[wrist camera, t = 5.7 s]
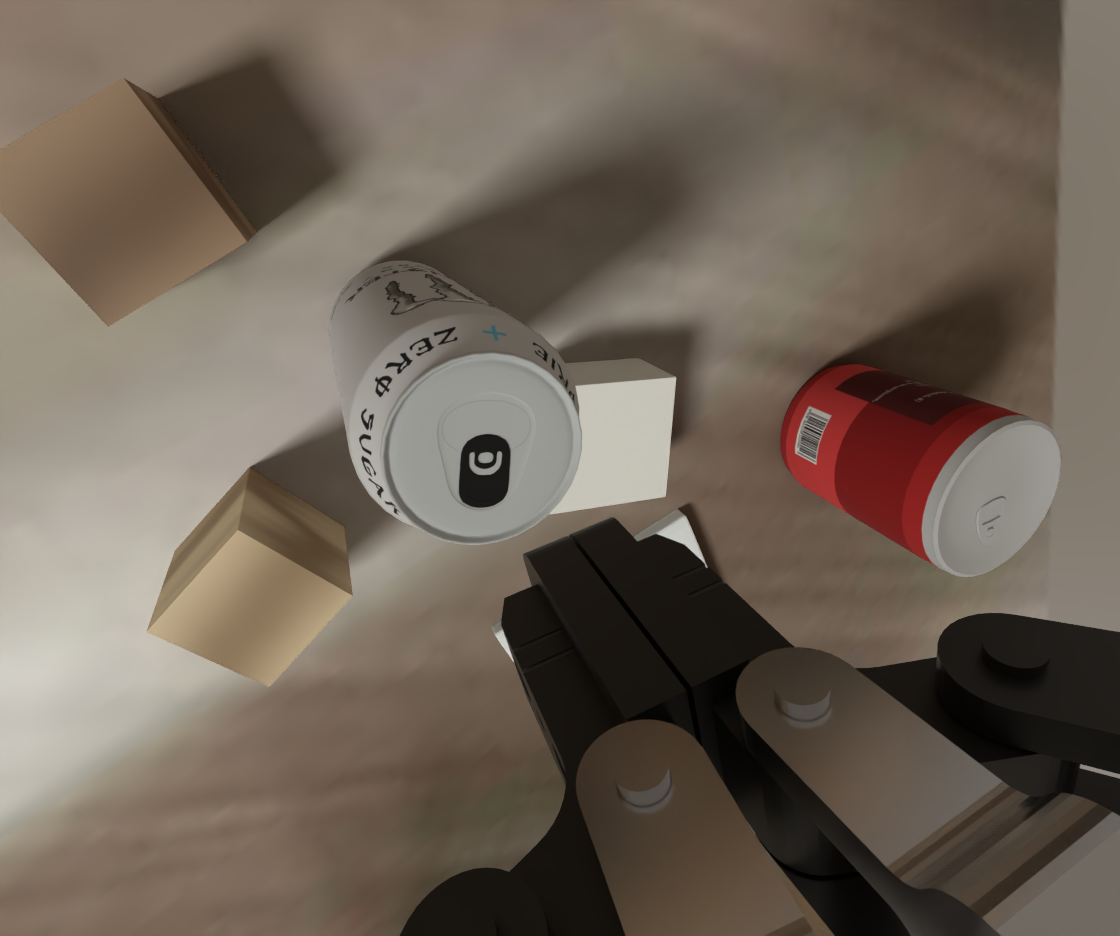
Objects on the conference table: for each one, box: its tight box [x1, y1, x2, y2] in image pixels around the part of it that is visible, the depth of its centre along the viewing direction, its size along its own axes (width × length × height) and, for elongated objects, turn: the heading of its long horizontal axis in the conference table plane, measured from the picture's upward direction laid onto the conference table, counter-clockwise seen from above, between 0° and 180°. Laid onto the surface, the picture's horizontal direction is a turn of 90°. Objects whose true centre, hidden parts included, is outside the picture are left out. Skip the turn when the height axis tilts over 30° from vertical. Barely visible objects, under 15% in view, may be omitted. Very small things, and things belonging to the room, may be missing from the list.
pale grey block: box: [550, 358, 676, 514], centre depth 31 cm, size 6×6×4 cm
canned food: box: [781, 364, 1062, 577], centre depth 34 cm, size 8×8×11 cm
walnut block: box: [0, 78, 256, 327], centre depth 21 cm, size 5×5×5 cm
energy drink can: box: [329, 261, 582, 545], centre depth 22 cm, size 6×6×15 cm
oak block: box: [147, 467, 353, 687], centre depth 27 cm, size 5×5×6 cm
